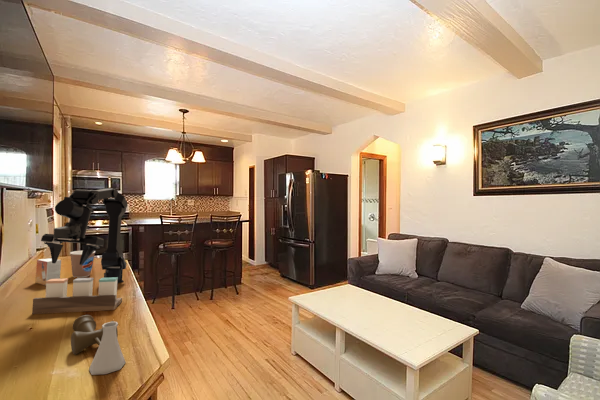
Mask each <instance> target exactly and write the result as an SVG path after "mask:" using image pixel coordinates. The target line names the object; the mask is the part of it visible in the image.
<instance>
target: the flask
mask: <svg viewBox="0 0 600 400" xmlns="http://www.w3.org/2000/svg"><path fill="white" fill-rule="evenodd" d="M118 326H119V323H118V321H114V322H111V321H109V322H105V323H103V324H102V325H101V328H103V336H102V340H101V343H100V345H98V348H97V350H96V352H95V355H94V357H93V359H92V362H91V363H90V366H89V372H90V374H91V376H92V375H93V376H95V375H107V374H110V373H113V372H116V371H119V370H121V369H122V367H123V366H124V365H125V364H126V359H125V356H124V354H123V352H122V349H121V346H120V344H119V340H118V337H117V334H116V328H117V329H118Z"/></svg>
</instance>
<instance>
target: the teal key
mask: <svg viewBox="0 0 600 400" xmlns="http://www.w3.org/2000/svg"><path fill="white" fill-rule="evenodd" d="M117 280H118V277H106V278H104V277H100V279H98V293H97V294H98V295H116V297H117V292H118V283H117ZM98 295H97V296H98Z"/></svg>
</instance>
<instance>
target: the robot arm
mask: <svg viewBox="0 0 600 400" xmlns="http://www.w3.org/2000/svg"><path fill="white" fill-rule="evenodd" d="M100 200H102V203H103V205H104V207H105V212H106V213H107V216H108V217H109V218H108V233H107V248H106V249H105V250H104V251H103V252H102V253H101V259H100V260H101V261H100V263H101V265H100V266H101V270H103V271H104V273H103V278H106V277H118V280H117V284H118V283H124V282H125V281H124V280H123V271H124V270H126V268H127V261H126V260H125V257H124V252H123V250H122V249H121V247H120V245H121V233H122V230H121V229H122V228H121V227H122V217H123V216H124V214H125V213H126V212H127V208H128V201H127V199H126V197H125V196H124V195H123V194H121V193H120V192H119V191H118V189H116V188H111V187H109V188H108V187H107V188H102V189H75V190H74V191H73V192H72V193H71V194H70V195H69V196H64V197H63V199H62V200H60V201H58V202H57V204H56V205H55V206H54V210H55V213H56V214H57V215H58V216H62V217H65V218H67V219H69V222H68V221H67V222H66V223H65V224H64V226H58V227H54V228H53V233H44V234H43V235H41V239H40V242H44V243H43V244H44V245H47V247H48V248H49V251H50V258H52V263H56V261H57V260H59V256H60V254H61V252H62V249H63V246H64V244H63V243H75V244H77V243H78V244H82V251H83V252H82V255H81V259H80V265H82V264H83V263H84V262H85V261H86V260H87V258H88V257H89V256H90V255H91V254H92V253H93V252H94V251H95V252H96V250H97V249H100V247H104V245H105V239H104V238H103V237H98V236H89V235H87V236H86V233H87V229H88V230H89V229H90V225H89V222H90V218H91V214H94V213H95V210H94V209H93V208H92V206H94V205H96V204H98V203H99V201H100Z"/></svg>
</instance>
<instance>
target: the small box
mask: <svg viewBox="0 0 600 400" xmlns="http://www.w3.org/2000/svg"><path fill="white" fill-rule="evenodd" d="M61 269H62V259H57V261H56V263H52V258H51V257H48V258H41V259H37V260H36V269H35V271H36V272H35V282H34V283H35V284H39V285H43V286H46V281H47V280H50V279H61Z"/></svg>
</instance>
